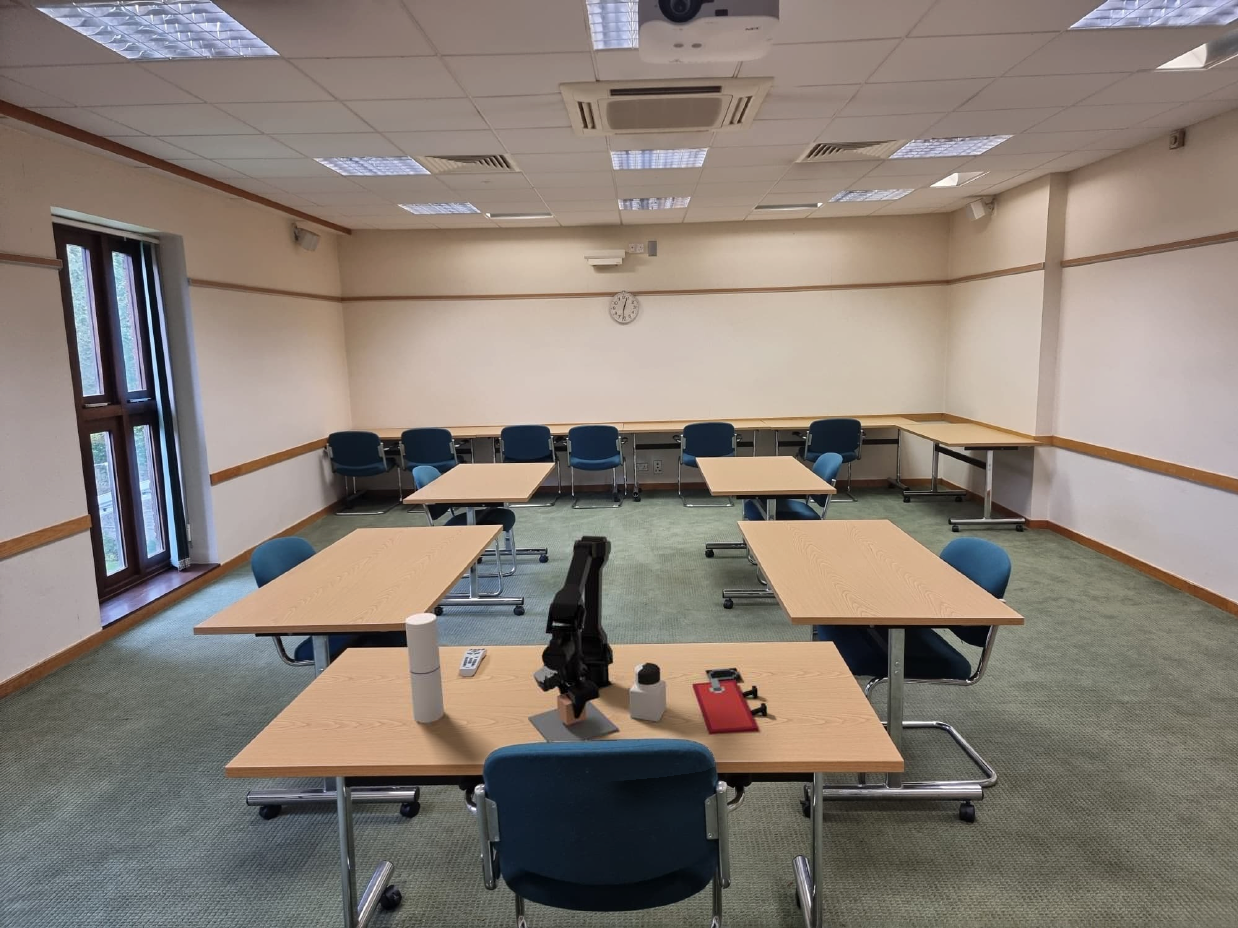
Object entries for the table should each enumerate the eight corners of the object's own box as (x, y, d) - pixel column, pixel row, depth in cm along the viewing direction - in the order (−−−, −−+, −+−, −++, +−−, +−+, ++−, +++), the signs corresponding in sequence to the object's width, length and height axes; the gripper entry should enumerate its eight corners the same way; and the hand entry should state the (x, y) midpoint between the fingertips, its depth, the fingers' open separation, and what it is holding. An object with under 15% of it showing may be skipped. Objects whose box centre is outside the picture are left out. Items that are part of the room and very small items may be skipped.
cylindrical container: (417, 725, 168) (408, 626, 163) (411, 712, 174) (402, 616, 170) (447, 717, 171) (439, 620, 167) (440, 704, 177) (432, 610, 173)
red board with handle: (742, 670, 190) (688, 674, 190) (742, 660, 190) (687, 665, 189) (774, 731, 161) (709, 737, 160) (774, 720, 160) (709, 726, 160)
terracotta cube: (576, 709, 169) (575, 690, 168) (586, 718, 165) (585, 699, 164) (557, 715, 167) (556, 695, 166) (566, 725, 162) (565, 704, 161)
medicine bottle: (666, 707, 172) (665, 661, 170) (658, 722, 166) (657, 674, 164) (638, 703, 175) (637, 658, 173) (629, 717, 168) (628, 671, 166)
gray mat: (587, 700, 177) (587, 699, 177) (618, 730, 163) (618, 728, 163) (528, 719, 169) (528, 717, 169) (555, 751, 155) (555, 749, 155)
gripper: (521, 644, 167) (525, 705, 170) (553, 675, 151) (557, 742, 154) (564, 634, 172) (567, 693, 175) (599, 662, 156) (602, 727, 159)
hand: (572, 712), depth 166 cm, fingers closed on terracotta cube, 5 cm apart
